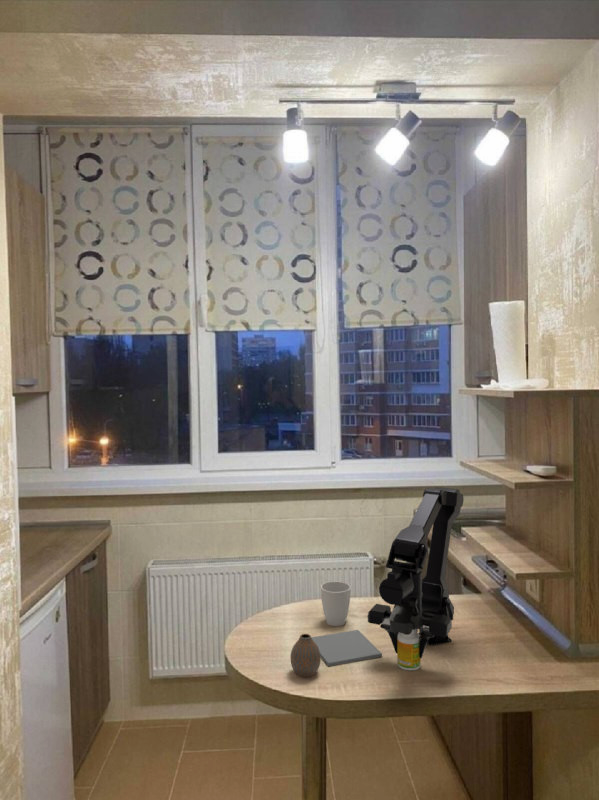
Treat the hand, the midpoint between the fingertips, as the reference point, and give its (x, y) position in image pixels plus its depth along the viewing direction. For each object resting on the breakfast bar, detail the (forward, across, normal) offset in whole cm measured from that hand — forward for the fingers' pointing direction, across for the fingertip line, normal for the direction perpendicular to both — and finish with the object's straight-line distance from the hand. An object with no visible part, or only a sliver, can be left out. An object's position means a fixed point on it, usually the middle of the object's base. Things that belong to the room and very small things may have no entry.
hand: (409, 655), depth 144 cm
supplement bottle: (+3, 0, 0) cm, 3 cm away
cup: (+3, -25, +15) cm, 29 cm away
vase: (+3, -20, -14) cm, 25 cm away
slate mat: (+2, -17, +1) cm, 17 cm away
